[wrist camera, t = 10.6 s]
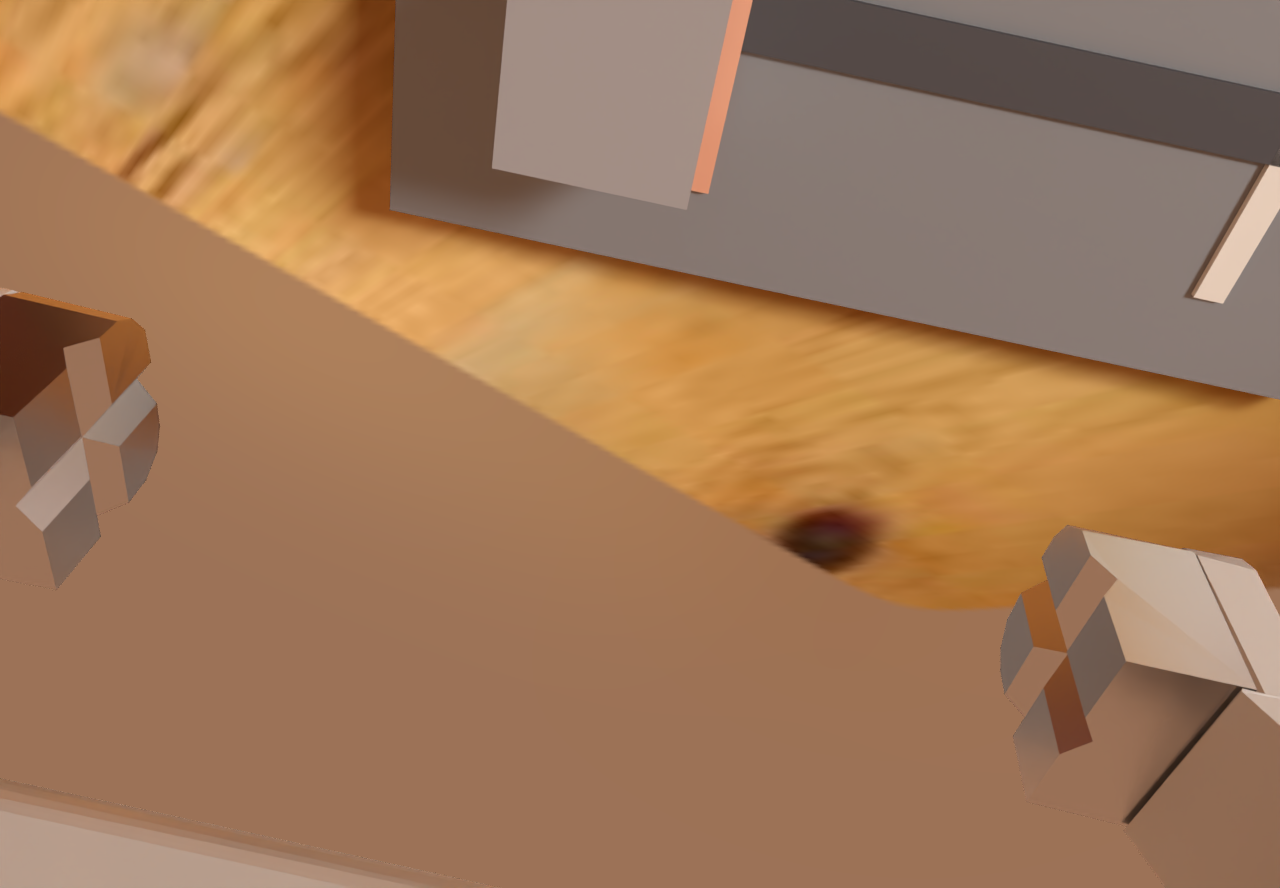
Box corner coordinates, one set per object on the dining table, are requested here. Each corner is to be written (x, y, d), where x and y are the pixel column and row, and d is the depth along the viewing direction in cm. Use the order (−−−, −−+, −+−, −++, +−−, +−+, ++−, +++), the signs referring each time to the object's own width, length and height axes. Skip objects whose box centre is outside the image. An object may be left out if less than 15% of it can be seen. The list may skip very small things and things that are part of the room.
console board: (1701, -158, 22) (1800, -140, 20) (1330, 370, 31) (1372, 423, 29) (442, -437, 22) (404, -450, 20) (415, 175, 30) (387, 213, 28)
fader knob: (752, -106, 22) (744, -56, 18) (703, 121, 25) (687, 209, 21) (568, -146, 22) (516, -106, 18) (541, 86, 25) (492, 168, 21)
